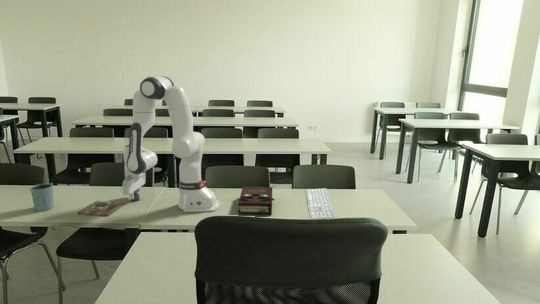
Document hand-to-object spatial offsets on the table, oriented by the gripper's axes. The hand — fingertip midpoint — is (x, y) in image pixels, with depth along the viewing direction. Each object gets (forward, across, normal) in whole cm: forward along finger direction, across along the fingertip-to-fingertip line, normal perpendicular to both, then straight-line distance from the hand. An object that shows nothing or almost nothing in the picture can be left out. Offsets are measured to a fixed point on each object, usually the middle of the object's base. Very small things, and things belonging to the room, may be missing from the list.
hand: (135, 197), depth 209 cm
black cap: (+2, 0, 0) cm, 2 cm away
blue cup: (+2, -18, +41) cm, 45 cm away
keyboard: (+3, +10, -101) cm, 102 cm away
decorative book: (+3, +2, -67) cm, 67 cm away
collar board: (+2, -15, +11) cm, 19 cm away
